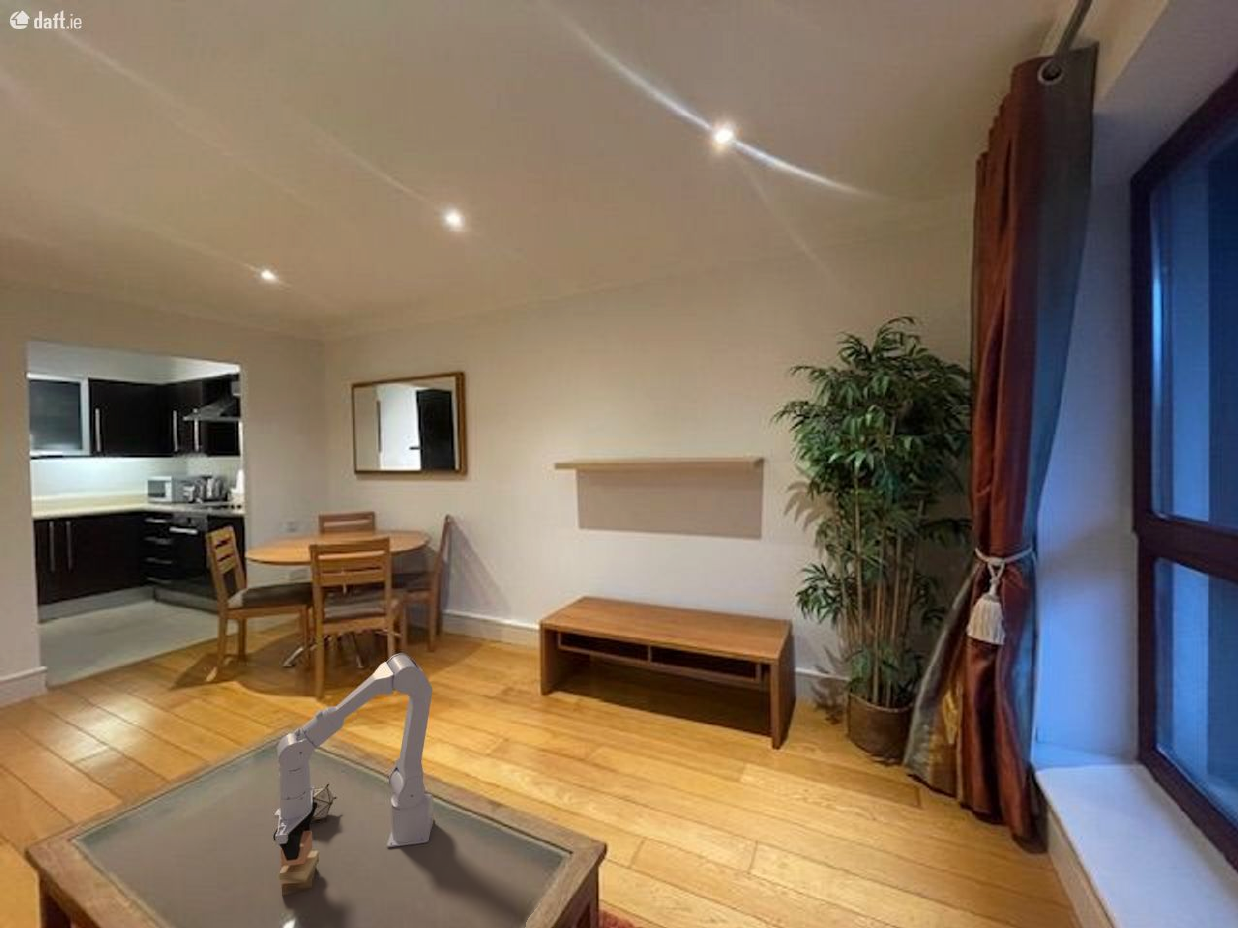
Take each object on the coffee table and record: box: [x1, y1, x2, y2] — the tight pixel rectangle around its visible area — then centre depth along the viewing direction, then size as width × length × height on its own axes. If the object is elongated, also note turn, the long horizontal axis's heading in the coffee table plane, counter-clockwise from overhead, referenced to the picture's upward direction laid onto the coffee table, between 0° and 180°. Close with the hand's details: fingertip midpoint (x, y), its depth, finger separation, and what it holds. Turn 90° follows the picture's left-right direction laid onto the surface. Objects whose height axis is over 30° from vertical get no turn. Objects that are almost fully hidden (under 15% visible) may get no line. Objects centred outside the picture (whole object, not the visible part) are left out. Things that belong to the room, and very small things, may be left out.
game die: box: [312, 782, 338, 822], centre depth 132 cm, size 9×8×10 cm
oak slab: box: [278, 850, 320, 885], centre depth 114 cm, size 6×6×2 cm
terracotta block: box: [280, 829, 313, 868], centre depth 113 cm, size 4×4×4 cm
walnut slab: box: [281, 866, 317, 897], centre depth 114 cm, size 6×6×2 cm
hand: (297, 849), depth 114 cm, fingers closed on terracotta block, 4 cm apart
